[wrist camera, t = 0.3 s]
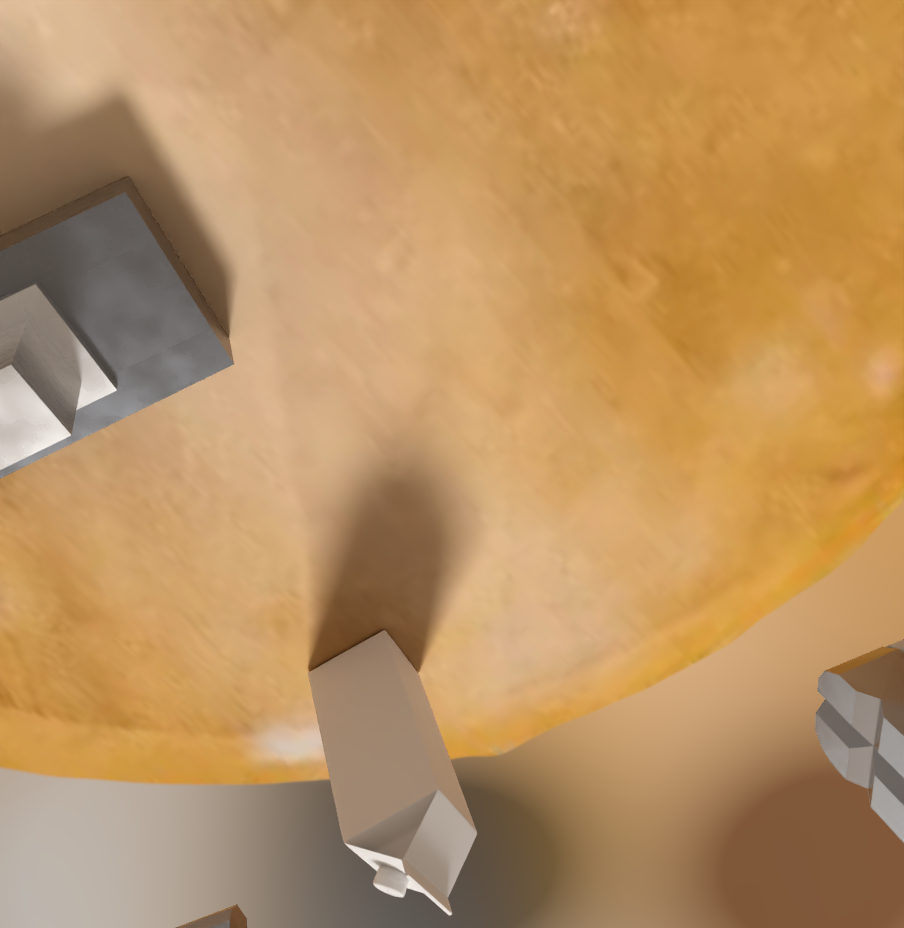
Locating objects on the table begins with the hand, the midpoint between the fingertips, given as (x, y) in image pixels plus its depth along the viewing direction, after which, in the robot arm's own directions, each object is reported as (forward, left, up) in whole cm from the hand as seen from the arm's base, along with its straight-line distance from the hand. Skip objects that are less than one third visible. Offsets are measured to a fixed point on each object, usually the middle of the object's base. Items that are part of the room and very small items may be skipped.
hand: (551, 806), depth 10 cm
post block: (+2, -14, -38) cm, 40 cm away
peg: (+2, -15, -38) cm, 40 cm away
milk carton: (+38, -11, -38) cm, 55 cm away
